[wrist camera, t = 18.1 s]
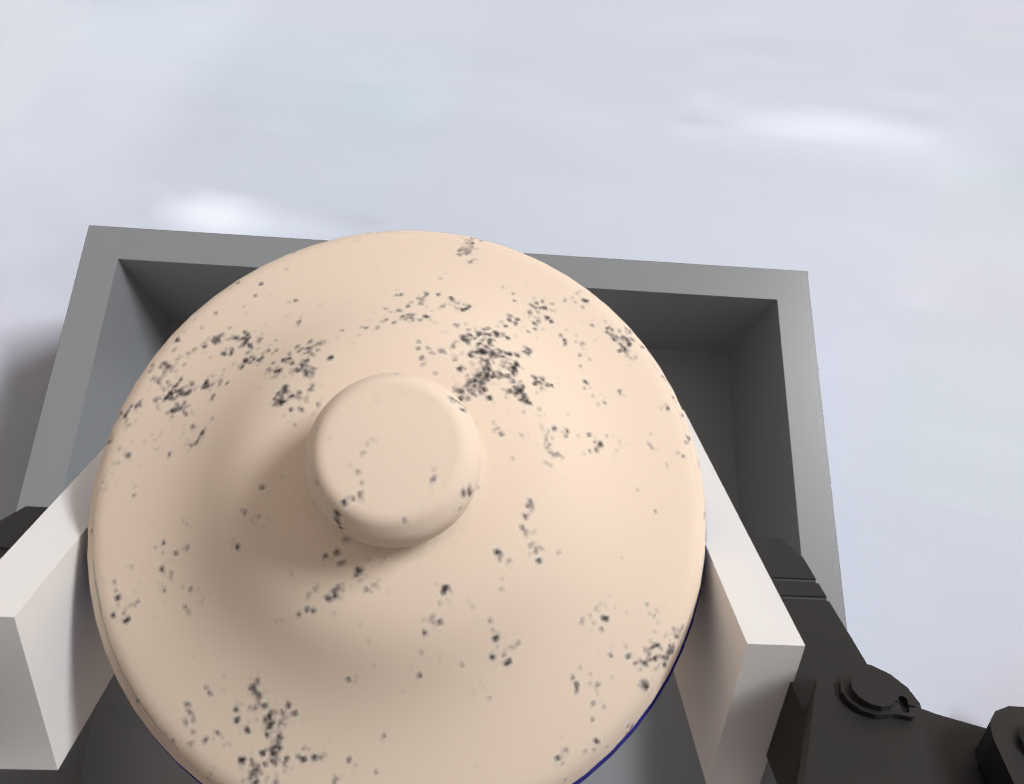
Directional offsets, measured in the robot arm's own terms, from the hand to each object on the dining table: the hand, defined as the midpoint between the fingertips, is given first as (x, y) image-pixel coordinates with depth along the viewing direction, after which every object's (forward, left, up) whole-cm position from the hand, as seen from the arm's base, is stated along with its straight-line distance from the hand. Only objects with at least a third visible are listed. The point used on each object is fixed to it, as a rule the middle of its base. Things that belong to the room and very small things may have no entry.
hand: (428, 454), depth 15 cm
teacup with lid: (0, +3, -5) cm, 6 cm away
